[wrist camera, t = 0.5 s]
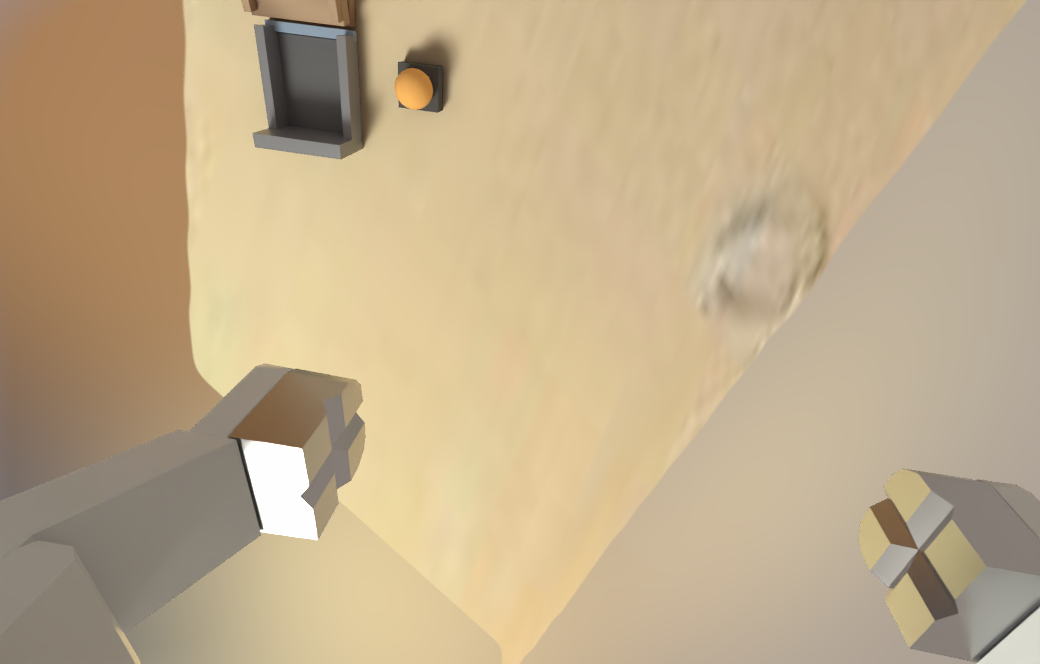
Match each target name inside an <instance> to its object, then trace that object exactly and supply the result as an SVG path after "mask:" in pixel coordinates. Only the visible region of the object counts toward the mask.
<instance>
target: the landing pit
mask: <svg viewBox="0 0 1040 664" xmlns="http://www.w3.org/2000/svg"><path fill="white" fill-rule="evenodd" d="M254 29H255V36H256V43H257V50H258V56H259V63H260V70H261V77H262V84H263V91H264V98H265V105H266V111H267V118H268V125H269V129H265V130H262V131H258V132H255V133H253V138H254V144H255V147H257V148H264V149H271V150H278V151H286V152H293V153H300V154H307V155H314V156H321V157H328V158H335V159H343V158H345V157H347V156H349V155H351V154H353V153H355V152H357V151H359V150H361V149H363V139H362V121H361V102H360V84H359V66H358V48H357V31H354V30H346V29H338V28H330V27H322V26H314V25H307V24H299V23H291V22H283V21H275V20H265V25H254ZM279 32H284V33H279ZM286 33H292V34H286ZM294 34H299V35H294ZM301 35H307V36H301ZM309 36H315V37H309ZM317 37H323V38H317ZM325 38H331V39H325ZM333 39H336V40H333Z"/></svg>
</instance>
